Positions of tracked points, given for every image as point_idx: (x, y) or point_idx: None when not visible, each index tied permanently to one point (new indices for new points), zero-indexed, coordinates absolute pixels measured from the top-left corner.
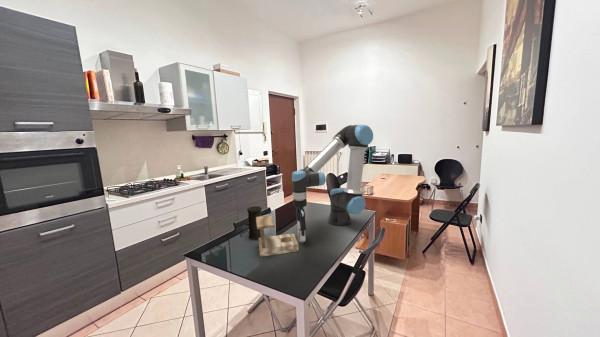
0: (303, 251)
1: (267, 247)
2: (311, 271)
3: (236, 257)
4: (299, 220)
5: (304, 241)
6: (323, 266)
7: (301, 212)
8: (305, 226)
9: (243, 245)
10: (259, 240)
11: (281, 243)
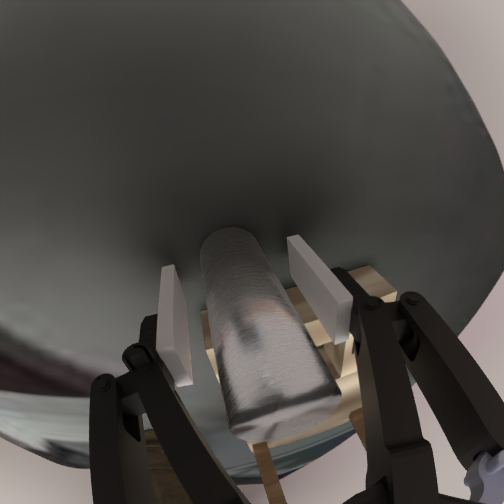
0: (379, 237)
1: (360, 403)
2: (491, 209)
3: (323, 433)
4: (254, 432)
5: (250, 233)
6: (488, 158)
7: (491, 494)
8: (441, 321)
9: (244, 449)
10: (281, 444)
11: (349, 374)
